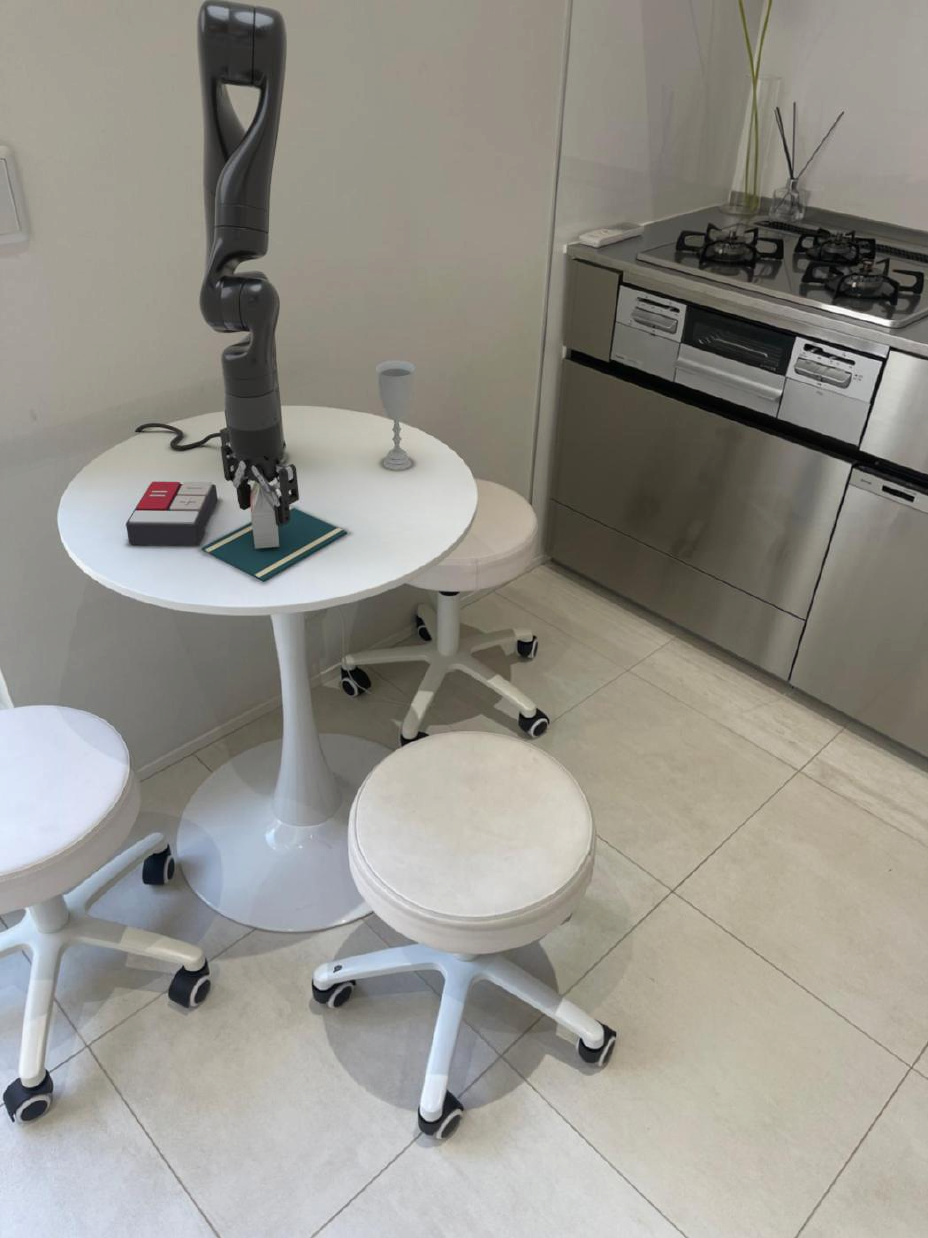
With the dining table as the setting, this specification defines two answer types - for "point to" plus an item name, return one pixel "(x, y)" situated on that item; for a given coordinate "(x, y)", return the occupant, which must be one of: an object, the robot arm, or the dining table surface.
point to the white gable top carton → (263, 518)
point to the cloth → (294, 546)
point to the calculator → (172, 513)
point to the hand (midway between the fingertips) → (264, 515)
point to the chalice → (396, 404)
